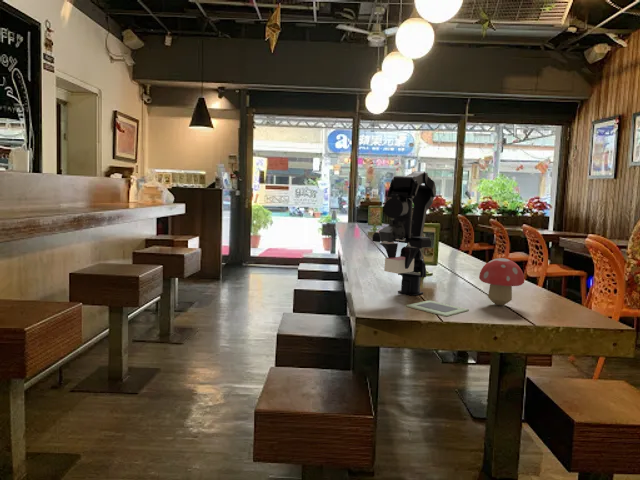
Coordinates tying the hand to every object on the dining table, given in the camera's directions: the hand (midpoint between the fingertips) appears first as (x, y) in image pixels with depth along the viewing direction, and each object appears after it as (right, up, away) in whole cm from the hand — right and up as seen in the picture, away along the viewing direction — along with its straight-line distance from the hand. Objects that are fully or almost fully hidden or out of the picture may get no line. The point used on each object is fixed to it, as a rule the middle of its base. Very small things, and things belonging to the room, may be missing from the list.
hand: (399, 267), depth 154 cm
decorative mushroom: (+32, -12, +3) cm, 35 cm away
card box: (0, -1, 0) cm, 1 cm away
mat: (+11, -12, -5) cm, 17 cm away
